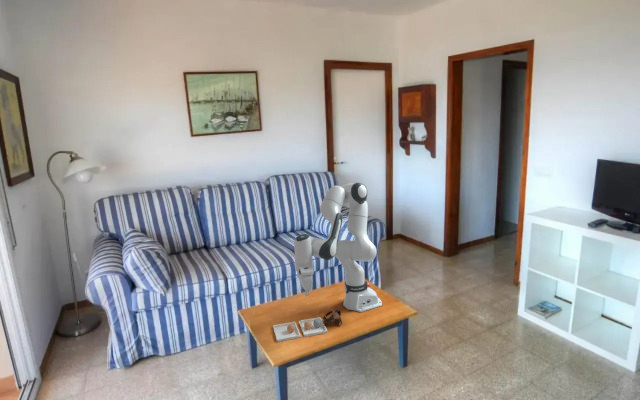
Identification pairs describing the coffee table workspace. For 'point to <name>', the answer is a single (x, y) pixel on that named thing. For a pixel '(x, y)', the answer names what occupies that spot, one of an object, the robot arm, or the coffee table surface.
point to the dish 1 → (285, 332)
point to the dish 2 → (313, 327)
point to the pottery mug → (335, 314)
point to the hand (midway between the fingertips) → (304, 291)
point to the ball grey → (317, 323)
